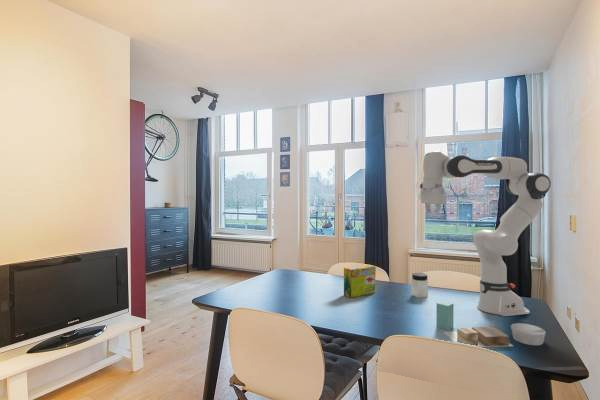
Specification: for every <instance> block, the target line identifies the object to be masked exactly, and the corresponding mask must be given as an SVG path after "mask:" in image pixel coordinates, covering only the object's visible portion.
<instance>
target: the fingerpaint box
mask: <svg viewBox="0 0 600 400" xmlns="http://www.w3.org/2000/svg"><path fill="white" fill-rule="evenodd" d="M376 269H377V268H376V265H372V264H362V265H355V266H348V267H346V266H345V267H344V268H343V296H346V297H347V298H355V297H361V296H365V295H371V294H375V293H376Z"/></svg>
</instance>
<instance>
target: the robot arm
mask: <svg viewBox="0 0 600 400" xmlns="http://www.w3.org/2000/svg"><path fill="white" fill-rule="evenodd" d="M422 171H423V178H422V182H421V183H420V184H419V189H420V201H421V203H422V204H424V207H425V210H426V211H425V212H426V213H429V214H430V213H432V209H431V205H435V209H434V214H436V215H438V214H441V213H440V212H441V211H440V210H441V207H442V205H446V202H447V199H446V198H447V197H446V189H445V188H444V185H443V178H446V179H454V178H465V177H467V176H469V175H472V174H484V175H485V176H486V177H487V178H489V179H493V180H505V184H504V185H505V189H506V191H507V193H509V194H510V195H514V196H518V198H517V199H516V201H515V202H514V203H513V204H512V205H511V206H510V207H509V208H508V209H507V211H506V212H504V213H503V215H501V217H500V218H499V222H500V223H499V225H498V227H497V228H496V229H494V230H490V229H481V230H478V231H475V233H474V234H473V236H472V243H473V244H474V246H475V248H476V250H477V254H478V257H479V262H480V280H479V292H480V293H479V294H480V295H479V300H478V303H477V305H476V307H477V309H478V310H479V311H482V312H485V313H489V314H494V315H497V316H498V315H499V316H502V317H511V316H512V317H513V316H520V315H529V314H530V313H531V312H530V310H529V309H528V308H527V307H525V305H524V300H523V299H522V298H521V297H520V296H519V295H518V294H516V293H515V292H513V291H512V290H511V288H512V289H515V287H516V285H515V284H514V283H509V282H508V280H507V279H508V278H507V277H508V275H507V273H508V272H507V271H508V270H507V269H508V268H507V265H506V263H505V262H504V259H503V257H502V256H512V255H514V254H515V253H517V250H518V247H519V242H518V240H519V238H520V235H521V234H522V232H523V231H524V230H525V229H526V228H527V227H528V226H529V225H530V223H532V221H534V219H535V218H536V217H537V215H539V213H540V212H541V210H542V208H543V202H542V200H541V199H544V198H545V197H546V195H547V193H548V192H549V190H550V188H551V185H552V183H551V182H552V181H551V179H550V177H549V176H548V175H547V174H544V173H540V172H535V173H534V172H528V164H527V162H526V161H525V160H524V159H523V158H518V157H513V156H494V157H489V158H487V159H473V158H471V157H468V156H466V155H462V154H461V155H457V156H454V157H450V156H448V155H447V154H446V155H445V154H444V153H443V152H442V151H440V150H436V151H431V152H428V153H425V155H424V158H423V168H422Z"/></svg>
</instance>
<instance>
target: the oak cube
mask: <svg viewBox="0 0 600 400" xmlns="http://www.w3.org/2000/svg"><path fill="white" fill-rule="evenodd" d="M456 332H457V342H460V343H464V344H470V345H476V346H478V332H476V331H474V330H473V329H472V328H471V327H469V326H467V327H457V328H456Z"/></svg>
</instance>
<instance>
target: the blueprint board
mask: <svg viewBox="0 0 600 400" xmlns="http://www.w3.org/2000/svg"><path fill="white" fill-rule="evenodd" d="M443 333H444V334H445V335H446V336H447V337H448V338H449V339H451V340H452V341H453V342H454V343H455V342H457V331H443ZM478 346H480V347H479V348H493V347H495V348H496V347H499V348H500V347H503V346H485V345H483V344H482V343H481V342H479V341H478ZM508 347H514V344H512V343H510V342H509V346H508Z"/></svg>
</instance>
